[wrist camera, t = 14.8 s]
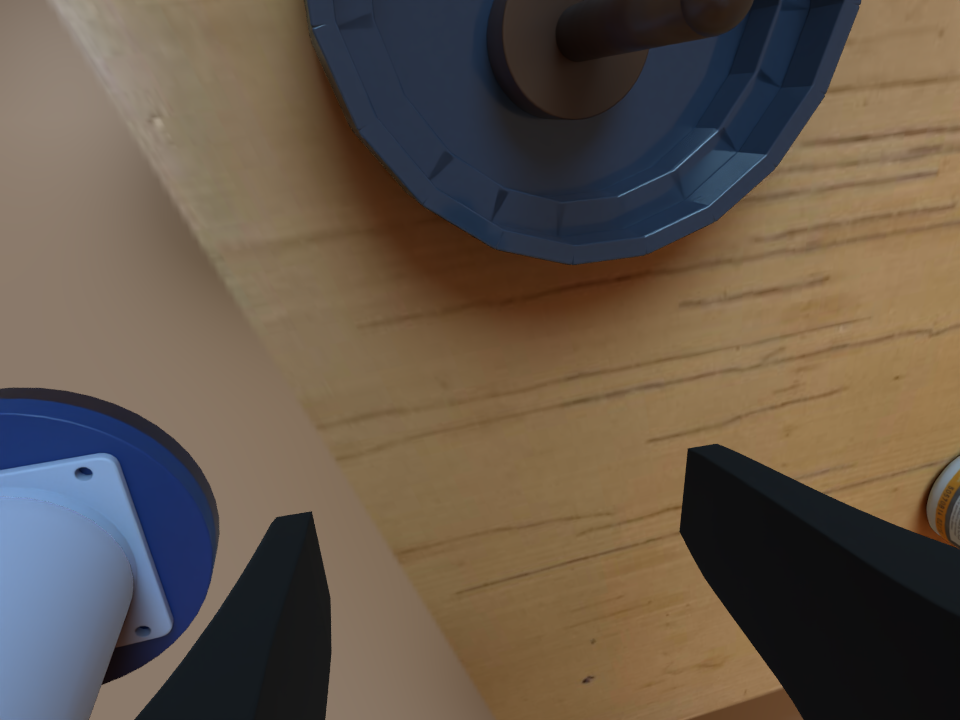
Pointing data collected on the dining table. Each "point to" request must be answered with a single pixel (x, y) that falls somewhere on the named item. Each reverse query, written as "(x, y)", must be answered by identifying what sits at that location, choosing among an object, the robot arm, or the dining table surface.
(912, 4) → the dining table surface
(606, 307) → the dining table surface
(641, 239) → the serving tray
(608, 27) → the joystick
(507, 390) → the dining table surface
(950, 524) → the pill bottle
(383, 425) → the dining table surface
